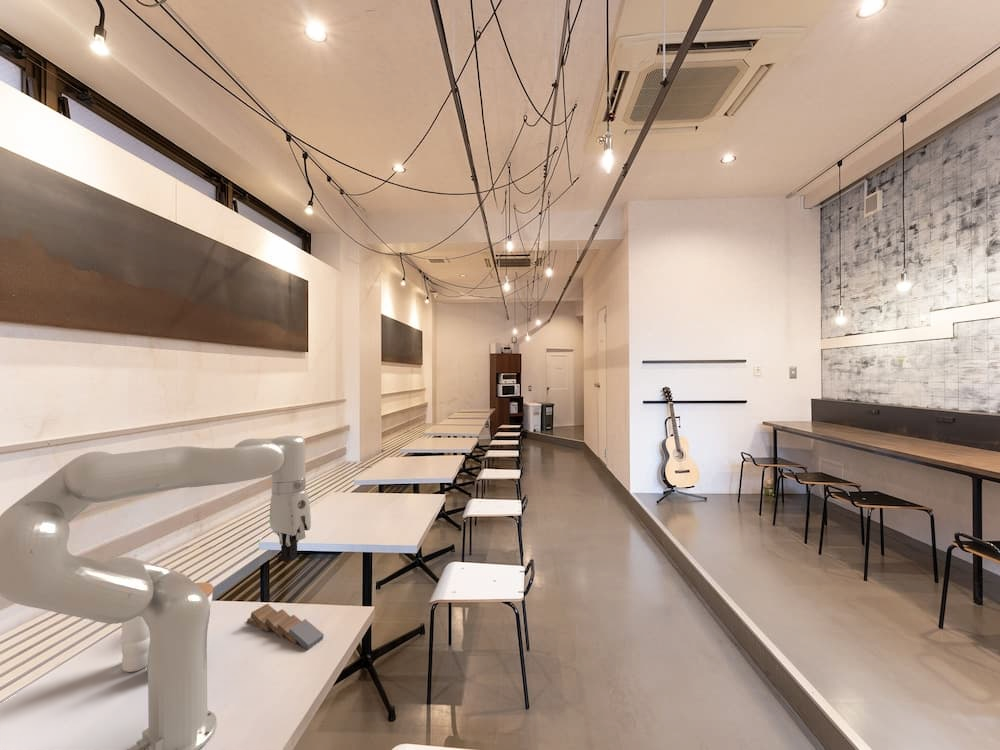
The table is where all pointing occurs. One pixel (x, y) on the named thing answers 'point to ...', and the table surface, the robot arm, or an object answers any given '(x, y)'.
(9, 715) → the table surface
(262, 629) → the domino
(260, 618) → the domino
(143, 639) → the water bottle
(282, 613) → the domino
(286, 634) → the domino
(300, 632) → the domino
